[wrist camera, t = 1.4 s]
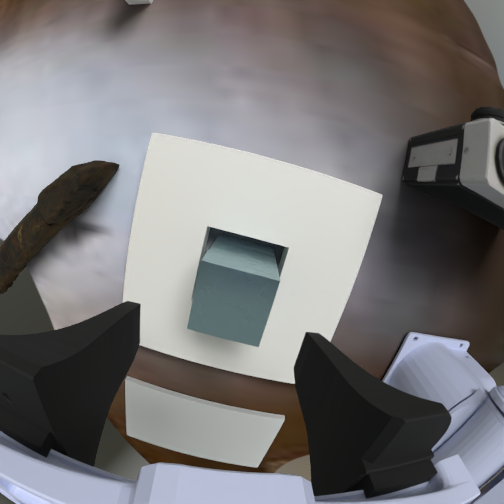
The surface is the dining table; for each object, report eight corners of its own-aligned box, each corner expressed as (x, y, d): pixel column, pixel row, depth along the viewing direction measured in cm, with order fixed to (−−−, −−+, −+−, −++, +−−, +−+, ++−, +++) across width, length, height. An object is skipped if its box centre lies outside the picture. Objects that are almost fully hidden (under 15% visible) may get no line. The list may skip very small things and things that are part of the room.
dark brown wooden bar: (15, 286, 23) (-11, 301, 18) (1, 254, 22) (-27, 266, 17) (136, 195, 20) (107, 199, 16) (116, 151, 20) (84, 147, 15)
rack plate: (371, 193, 20) (382, 194, 18) (305, 372, 23) (309, 386, 22) (161, 136, 19) (152, 132, 17) (129, 327, 23) (120, 338, 21)
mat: (284, 415, 25) (284, 419, 24) (257, 463, 27) (257, 467, 27) (127, 375, 24) (125, 379, 24) (128, 431, 27) (126, 434, 26)
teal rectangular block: (273, 248, 21) (280, 280, 14) (258, 297, 22) (258, 347, 15) (219, 233, 21) (201, 260, 14) (207, 284, 22) (186, 328, 15)
